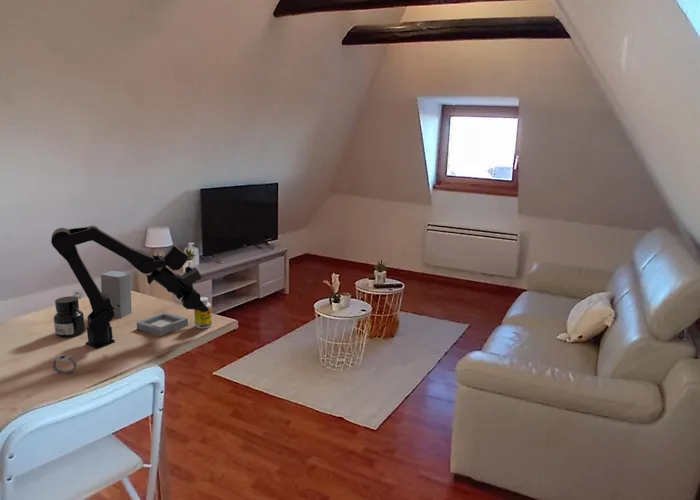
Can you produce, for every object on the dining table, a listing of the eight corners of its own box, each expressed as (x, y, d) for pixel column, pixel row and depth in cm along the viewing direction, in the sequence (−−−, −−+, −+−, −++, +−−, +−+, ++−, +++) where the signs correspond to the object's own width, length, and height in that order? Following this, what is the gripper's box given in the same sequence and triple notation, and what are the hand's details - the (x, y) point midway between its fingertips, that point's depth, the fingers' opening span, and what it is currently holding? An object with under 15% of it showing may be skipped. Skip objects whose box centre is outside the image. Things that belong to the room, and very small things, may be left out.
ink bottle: (49, 334, 178) (44, 301, 175) (73, 326, 186) (69, 293, 183) (67, 340, 174) (63, 306, 171) (91, 331, 182) (87, 298, 179)
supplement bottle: (200, 330, 183) (198, 302, 181) (192, 326, 187) (190, 298, 185) (214, 326, 187) (213, 298, 184) (206, 322, 191) (205, 295, 188)
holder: (160, 336, 178) (160, 329, 177) (136, 329, 184) (136, 322, 183) (188, 324, 188) (187, 318, 187) (164, 318, 194) (164, 312, 193)
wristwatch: (79, 370, 154) (77, 354, 152) (74, 375, 151) (72, 359, 150) (57, 370, 153) (55, 354, 152) (52, 375, 151) (50, 359, 149)
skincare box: (102, 316, 196) (97, 274, 192) (115, 309, 202) (111, 269, 198) (121, 318, 193) (117, 276, 189) (134, 312, 200) (130, 271, 196)
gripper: (191, 268, 171) (227, 296, 179) (180, 255, 187) (213, 281, 195) (167, 295, 169) (205, 322, 177) (159, 280, 185) (193, 305, 193)
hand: (204, 306), depth 186 cm, fingers open, 9 cm apart
